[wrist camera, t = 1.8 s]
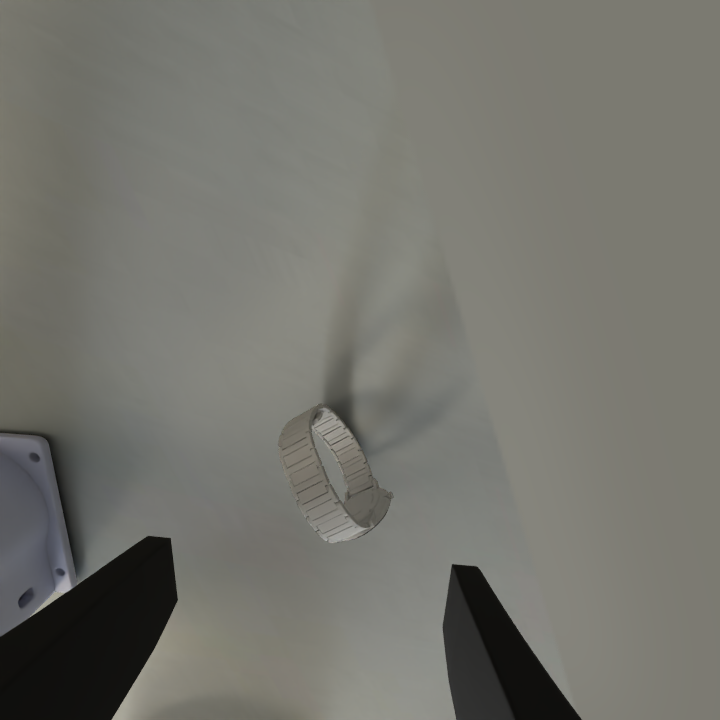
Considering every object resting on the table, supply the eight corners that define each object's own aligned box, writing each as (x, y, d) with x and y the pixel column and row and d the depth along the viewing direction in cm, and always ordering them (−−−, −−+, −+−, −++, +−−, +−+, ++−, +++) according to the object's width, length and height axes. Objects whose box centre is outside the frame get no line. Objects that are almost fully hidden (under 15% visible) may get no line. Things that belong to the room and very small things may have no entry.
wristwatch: (343, 490, 17) (328, 579, 12) (286, 409, 16) (245, 470, 11) (394, 465, 16) (399, 547, 12) (338, 379, 15) (319, 430, 11)
